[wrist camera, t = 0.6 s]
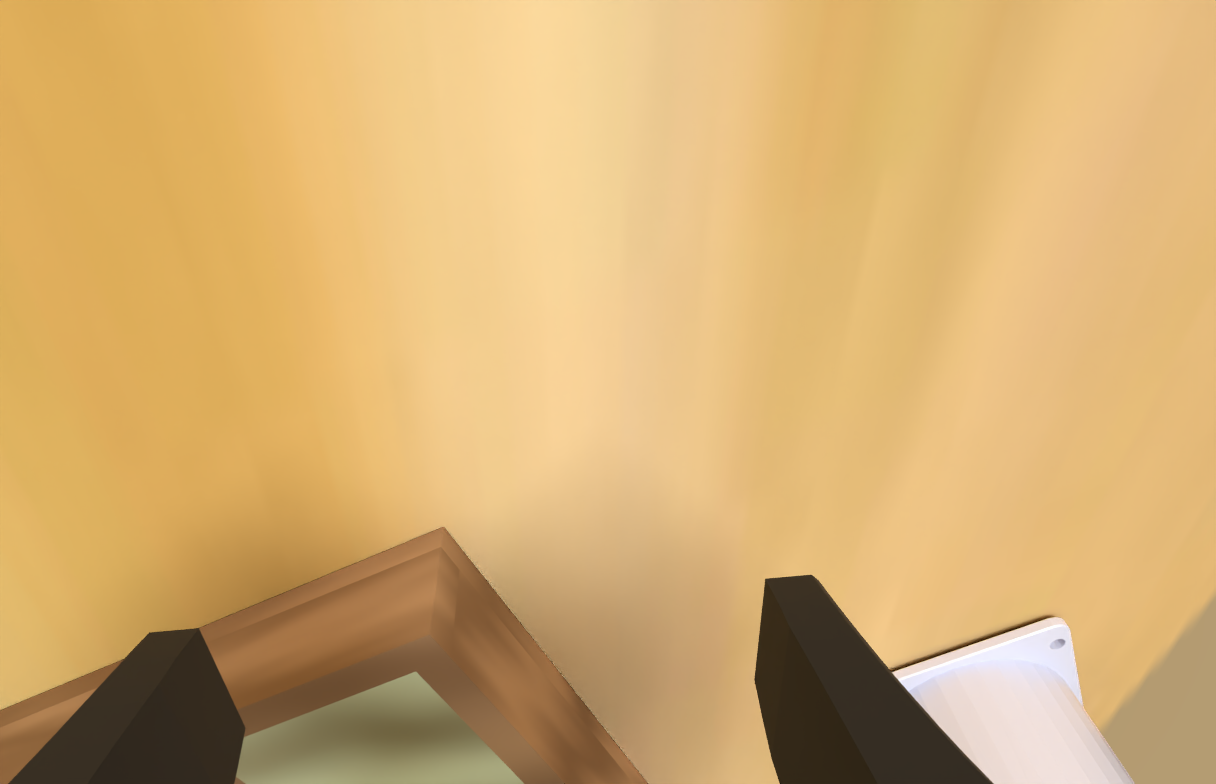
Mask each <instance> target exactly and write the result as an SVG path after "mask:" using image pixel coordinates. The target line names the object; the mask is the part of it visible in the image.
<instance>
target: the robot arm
mask: <svg viewBox="0 0 1216 784" xmlns="http://www.w3.org/2000/svg"><path fill="white" fill-rule="evenodd" d="M755 684H756V689H757V694H758V699H759V703H760V708H761V713H762V718H763V722H764V727H765V731H766V735H767V740H768V744H769V749H770V753H771V757H772V761H773V764H774V767H775V770H776V773H777V776H778V779H779V782H780V784H1135V783H1134V782H1133V780H1132V779H1131V777H1130V776H1129V774H1128V773H1127V771H1126V770H1125V768H1124V767H1123V765H1122V764H1121V762H1120V761H1119V759H1118V758H1117V756H1116V755H1115V753H1114V752H1113V751H1112V749H1111V748H1110V746H1109V745H1108V743H1107V742H1106V740H1105V739H1104V737H1103V736H1102V734H1101V733H1100V731H1099V730H1098V728H1097V727H1096V725H1095V724H1094V723H1093V721H1092V720H1091V718H1090V717H1089V715H1088V714H1087V712H1086V711H1085V709H1084V708H1083V702H1082V696H1081V691H1080V685H1079V679H1078V673H1077V667H1076V662H1075V656H1074V650H1073V644H1072V638H1071V632H1070V629H1069V627H1068V625H1067V624H1066V623H1065V621H1064V620H1063V619H1061V618H1059V617H1051V618H1047V619H1044V620H1041V621H1038V622H1036V623H1033V624H1030V625H1027V626H1024V627H1021V628H1018V629H1015V630H1012V631H1009V632H1007V633H1004V634H1001V635H998V636H995V637H992V638H989V639H986V640H983V641H980V642H978V643H975V644H972V645H969V646H966V647H963V648H960V649H957V650H954V651H952V652H949V653H946V654H943V655H940V656H937V657H934V658H931V659H928V660H925V661H923V662H920V663H917V664H914V665H911V666H908V667H905V668H902V669H899V670H896V671H894V672H891V671H890V670H889V669H888V667H887V666H886V665H885V664H884V663H883V661H882V660H881V659H880V658H879V657H878V655H877V654H876V653H875V652H874V650H873V649H872V648H871V647H870V646H869V644H868V643H867V642H866V641H865V640H864V638H863V637H862V636H861V635H860V633H859V632H858V631H857V630H856V628H855V627H854V626H853V625H852V623H851V622H850V621H849V620H848V618H847V617H846V616H845V614H844V613H843V612H842V611H841V609H840V608H839V607H838V605H837V604H836V603H835V602H834V600H833V599H832V598H831V596H830V595H829V594H828V592H827V591H826V590H825V588H824V587H823V586H822V584H821V583H820V582H819V581H818V580H817V579H816V578H815V577H814V576H812V575H804V576H792V577H781V578H769V579H765V588H764V597H763V606H762V616H761V625H760V634H759V643H758V653H757V662H756V671H755ZM245 729H246V728H245V725H244V723H243V721H242V719H241V717H240V715H239V713H238V710H237V708H236V706H235V704H234V702H233V700H232V698H231V696H230V693H229V691H228V689H227V687H226V685H225V683H224V681H223V678H222V676H221V674H220V672H219V670H218V668H217V666H216V664H215V661H214V659H213V657H212V655H211V653H210V651H209V649H208V646H207V644H206V642H205V640H204V638H203V636H202V634H201V631H200V629H199V628H197V629H186V630H175V631H163V632H152V633H149V634H148V635H147V636H146V637H145V638H144V639H143V640H142V641H141V642H140V643H139V644H138V645H137V646H136V647H135V648H134V649H133V650H132V651H131V653H130V654H129V655H128V656H127V657H126V658H125V659H124V660H123V661H122V662H121V663H120V664H119V665H118V667H117V668H116V669H115V670H114V671H113V672H112V673H111V674H110V675H109V676H108V677H107V678H106V679H105V681H104V682H103V683H102V684H101V685H100V686H99V687H98V688H97V689H96V690H95V691H94V692H93V694H92V695H91V696H90V697H89V698H88V699H87V700H86V701H85V702H84V703H83V704H82V705H81V707H80V708H79V709H78V710H77V711H76V712H75V713H74V714H73V715H72V716H71V717H70V718H69V719H68V721H67V722H66V723H65V724H64V725H63V726H62V727H61V728H60V729H59V730H58V731H57V732H56V733H55V735H54V736H53V737H52V738H51V739H50V740H49V741H48V742H47V743H46V744H45V745H44V746H43V747H42V748H41V750H40V751H39V752H38V753H37V754H36V755H35V756H34V757H33V758H32V759H31V760H30V761H29V762H28V763H27V764H26V765H25V766H24V767H23V768H22V769H21V771H20V772H19V773H18V774H17V775H16V776H15V777H14V778H13V779H12V780H11V781H10V782H9V783H8V784H234V783H235V778H236V774H237V769H238V764H239V759H240V754H241V749H242V744H243V739H244V734H245Z"/></svg>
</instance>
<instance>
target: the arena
mask: <svg viewBox="0 0 1216 784" xmlns="http://www.w3.org/2000/svg"><path fill="white" fill-rule="evenodd" d="M199 629H200V631H201V634H202V636H203V638H204V640H205V642H206V644H207V646H208V649H209V651H210V653H211V655H212V657H213V659H214V661H215V664H216V666H217V668H218V670H219V672H220V674H221V676H222V678H223V681H224V683H225V685H226V687H227V689H228V691H229V693H230V696H231V698H232V700H233V702H234V704H235V706H236V708H237V710H238V713H239V715H240V717H241V719H242V721H243V723H244V725H245V728H246V729H245V734H244V739H243V744H242V749H241V754H240V759H239V764H238V769H237V774H236V778H235V783H234V784H648V783H647V782H646V781H645V780H644V778H643V777H642V776H641V775H640V773H639V772H638V771H637V770H636V768H635V767H634V766H633V765H632V763H631V762H630V761H629V760H628V758H627V757H626V756H625V754H624V753H623V752H622V751H621V749H620V748H619V747H618V746H617V744H616V743H615V742H614V741H613V739H612V738H611V737H610V736H609V734H608V733H607V732H606V731H605V729H604V728H603V727H602V726H601V724H600V723H599V722H598V721H597V719H596V718H595V717H594V715H593V714H592V713H591V712H590V710H589V709H588V708H587V707H586V705H585V704H584V703H583V702H582V700H581V699H580V698H579V697H578V695H577V694H576V693H575V692H574V690H573V689H572V688H571V687H570V685H569V684H568V683H567V682H566V680H565V679H564V678H563V676H562V675H561V674H560V673H559V671H558V670H557V669H556V668H555V666H554V665H553V664H552V663H551V661H550V660H549V659H548V658H547V656H546V655H545V654H544V653H543V651H542V650H541V649H540V648H539V646H538V645H537V644H536V643H535V641H534V640H533V639H532V637H531V636H530V635H529V634H528V632H527V631H526V630H525V629H524V627H523V626H522V625H521V624H520V622H519V621H518V620H517V619H516V617H515V616H514V615H513V614H512V612H511V611H510V610H509V609H508V607H507V606H506V605H505V604H504V602H503V601H502V600H501V598H500V597H499V596H498V595H497V593H496V592H495V591H494V590H493V588H492V587H491V586H490V585H489V583H488V582H487V581H486V580H485V578H484V577H483V576H482V575H481V573H480V572H479V571H478V570H477V568H476V567H475V566H474V565H473V563H472V562H471V561H470V559H469V558H468V557H467V556H466V554H465V553H464V552H463V551H462V549H461V548H460V547H459V546H458V544H457V543H456V542H455V541H454V539H453V538H452V537H451V536H450V534H449V533H448V532H447V531H446V529H445V528H444V527H442V528H440V529H437V530H435V531H432V532H430V533H428V534H425V535H423V536H420V537H418V538H416V539H413V540H411V541H408V542H406V543H403V544H401V545H399V546H396V547H394V548H391V549H389V550H387V551H384V552H382V553H379V554H377V555H374V556H372V557H370V558H367V559H365V560H362V561H360V562H358V563H355V564H353V565H350V566H348V567H346V568H343V569H341V570H338V571H336V572H333V573H331V574H329V575H326V576H324V577H321V578H319V579H317V580H314V581H312V582H309V583H307V584H304V585H302V586H300V587H297V588H295V589H292V590H290V591H288V592H285V593H283V594H280V595H278V596H275V597H273V598H271V599H268V600H266V601H263V602H261V603H259V604H256V605H254V606H251V607H249V608H247V609H244V610H242V611H239V612H237V613H234V614H232V615H230V616H227V617H225V618H222V619H220V620H218V621H215V622H213V623H210V624H208V625H205V626H203V627H201V628H199ZM123 660H124V659H123ZM123 660H121V661H119V662H116V663H114V664H111V665H109V666H107V667H104V668H102V669H99V670H97V671H94V672H92V673H90V674H87V675H85V676H82V677H80V678H78V679H75V680H73V681H70V682H68V683H65V684H63V685H61V686H58V687H56V688H53V689H51V690H49V691H46V692H44V693H41V694H39V695H36V696H34V697H32V698H29V699H27V700H24V701H22V702H20V703H17V704H15V705H12V706H10V707H8V708H5V709H3V710H0V784H8V783H9V782H10V781H11V780H12V779H13V778H14V777H15V776H16V775H17V774H18V773H19V772H20V771H21V769H22V768H23V767H24V766H25V765H26V764H27V763H28V762H29V761H30V760H31V759H32V758H33V757H34V756H35V755H36V754H37V753H38V752H39V751H40V750H41V748H42V747H43V746H44V745H45V744H46V743H47V742H48V741H49V740H50V739H51V738H52V737H53V736H54V735H55V733H56V732H57V731H58V730H59V729H60V728H61V727H62V726H63V725H64V724H65V723H66V722H67V721H68V719H69V718H70V717H71V716H72V715H73V714H74V713H75V712H76V711H77V710H78V709H79V708H80V707H81V705H82V704H83V703H84V702H85V701H86V700H87V699H88V698H89V697H90V696H91V695H92V694H93V692H94V691H95V690H96V689H97V688H98V687H99V686H100V685H101V684H102V683H103V682H104V681H105V679H106V678H107V677H108V676H109V675H110V674H111V673H112V672H113V671H114V670H115V669H116V668H117V667H118V665H119V664H120V663H121V662H122V661H123Z"/></svg>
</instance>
